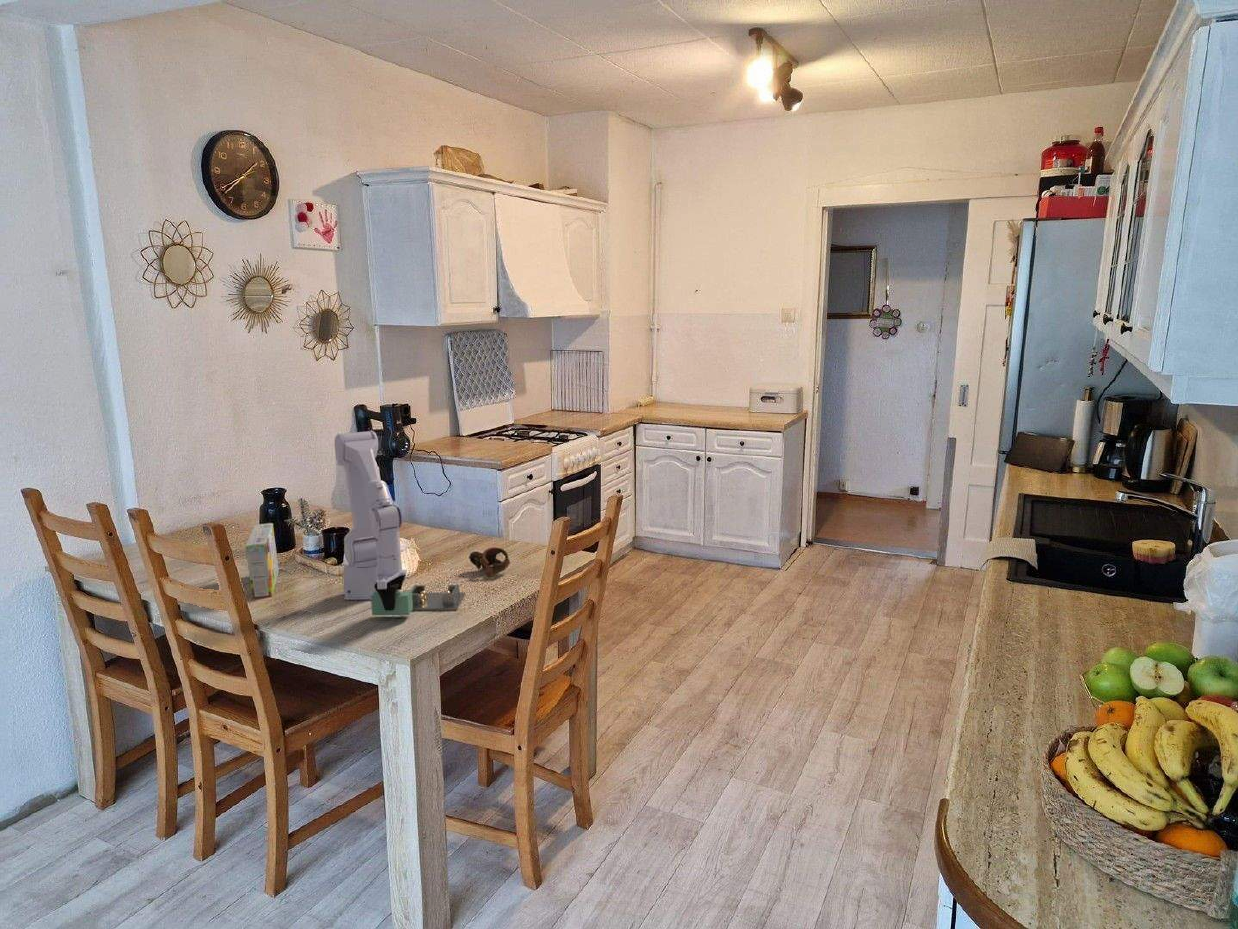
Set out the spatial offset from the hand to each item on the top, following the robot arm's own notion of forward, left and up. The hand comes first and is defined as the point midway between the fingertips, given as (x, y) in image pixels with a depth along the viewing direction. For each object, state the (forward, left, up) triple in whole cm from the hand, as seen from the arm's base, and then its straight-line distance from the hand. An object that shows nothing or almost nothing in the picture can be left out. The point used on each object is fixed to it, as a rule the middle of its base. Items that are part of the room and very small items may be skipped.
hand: (392, 606), depth 199 cm
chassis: (+8, +10, -3) cm, 13 cm away
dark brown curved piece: (+19, +34, -3) cm, 39 cm away
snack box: (-42, +24, -3) cm, 49 cm away
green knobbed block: (0, 0, -2) cm, 2 cm away
